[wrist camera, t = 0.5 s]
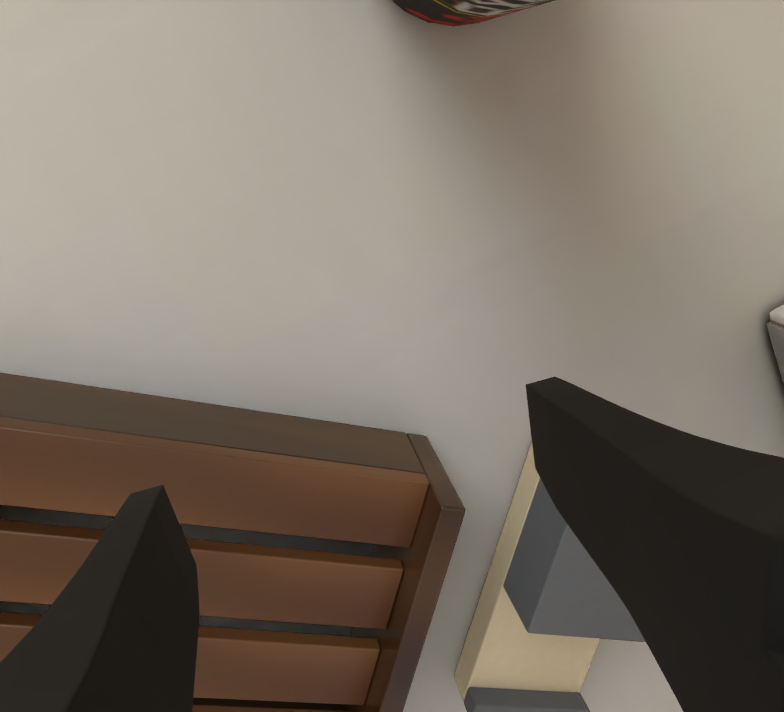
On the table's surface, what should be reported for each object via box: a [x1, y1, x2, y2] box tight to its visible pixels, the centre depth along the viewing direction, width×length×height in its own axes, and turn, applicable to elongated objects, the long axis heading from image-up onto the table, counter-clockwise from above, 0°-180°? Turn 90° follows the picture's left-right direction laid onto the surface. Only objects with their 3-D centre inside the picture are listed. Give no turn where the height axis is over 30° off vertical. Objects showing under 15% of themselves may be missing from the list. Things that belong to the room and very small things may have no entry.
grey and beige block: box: [454, 442, 646, 712], centre depth 27 cm, size 11×5×4 cm, turn 166°
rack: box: [0, 373, 465, 712], centre depth 23 cm, size 12×16×5 cm
